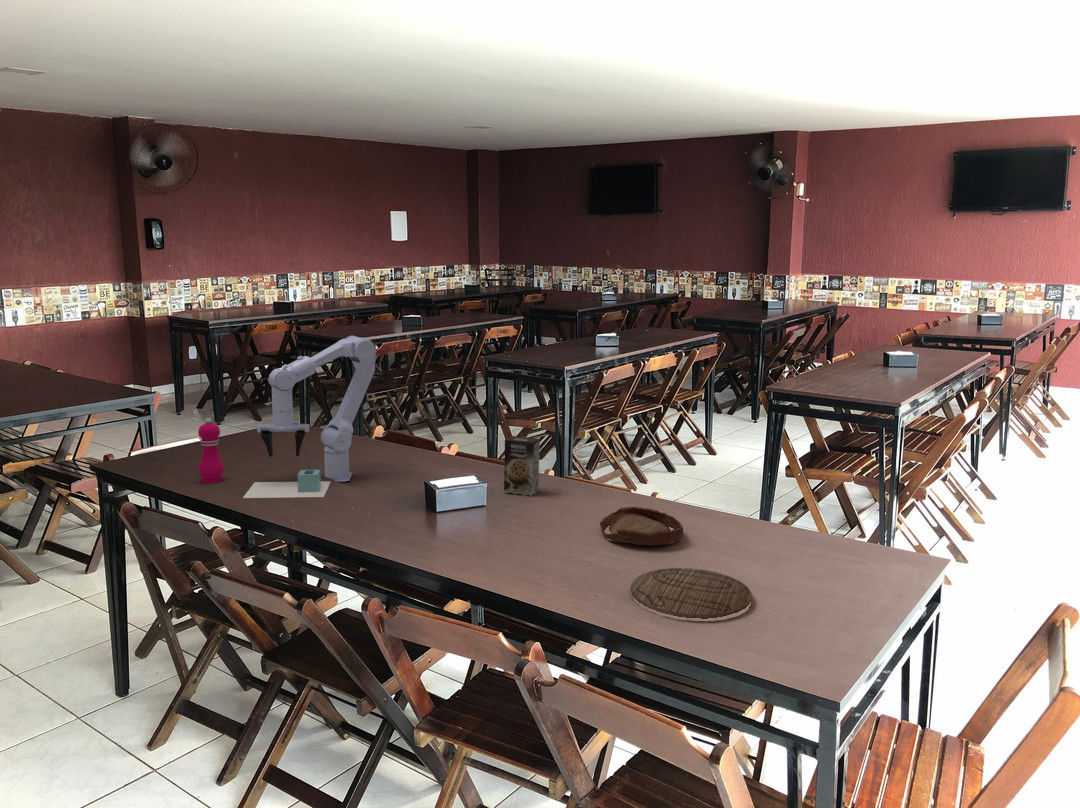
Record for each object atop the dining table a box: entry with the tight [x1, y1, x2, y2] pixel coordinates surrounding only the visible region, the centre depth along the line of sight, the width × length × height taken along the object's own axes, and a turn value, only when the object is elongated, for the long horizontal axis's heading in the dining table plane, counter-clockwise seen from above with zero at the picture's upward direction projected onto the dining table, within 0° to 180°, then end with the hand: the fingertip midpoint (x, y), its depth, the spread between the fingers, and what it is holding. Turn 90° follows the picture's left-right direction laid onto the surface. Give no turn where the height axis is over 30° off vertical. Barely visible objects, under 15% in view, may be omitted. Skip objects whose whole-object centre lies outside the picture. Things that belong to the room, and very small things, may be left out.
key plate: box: [242, 480, 332, 499], centre depth 255 cm, size 16×22×5 cm
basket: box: [599, 506, 684, 546], centre depth 224 cm, size 22×20×5 cm
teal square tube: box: [296, 469, 322, 492], centre depth 255 cm, size 6×6×5 cm
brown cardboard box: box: [503, 435, 541, 496], centre depth 259 cm, size 9×6×16 cm
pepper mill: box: [197, 417, 225, 484], centre depth 262 cm, size 7×7×20 cm
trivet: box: [630, 567, 753, 619], centre depth 186 cm, size 25×25×2 cm
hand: (284, 455), depth 260 cm, fingers open, 7 cm apart
